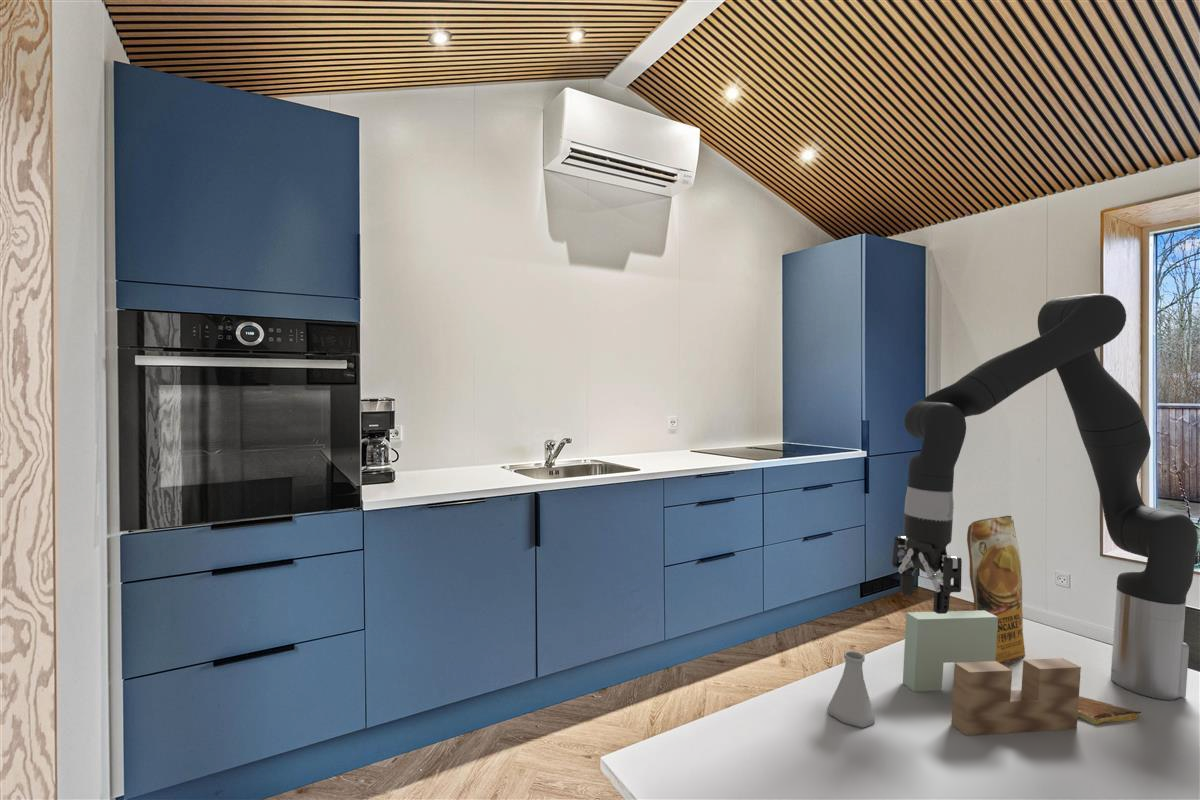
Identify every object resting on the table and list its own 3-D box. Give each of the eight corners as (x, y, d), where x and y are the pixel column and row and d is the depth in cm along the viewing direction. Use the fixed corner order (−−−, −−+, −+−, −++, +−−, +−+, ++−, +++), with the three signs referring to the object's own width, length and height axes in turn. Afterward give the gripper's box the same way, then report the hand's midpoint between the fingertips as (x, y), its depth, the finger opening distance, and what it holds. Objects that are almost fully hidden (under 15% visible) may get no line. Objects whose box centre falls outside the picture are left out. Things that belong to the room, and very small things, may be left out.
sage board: (980, 679, 107) (984, 610, 106) (993, 687, 104) (998, 617, 103) (902, 682, 104) (906, 612, 104) (914, 691, 101) (918, 619, 101)
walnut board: (1059, 717, 95) (1063, 658, 95) (1076, 728, 92) (1080, 667, 92) (951, 724, 92) (954, 662, 92) (965, 735, 89) (969, 672, 89)
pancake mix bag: (946, 655, 116) (954, 518, 115) (1003, 640, 124) (1011, 512, 123) (981, 671, 110) (989, 526, 109) (1038, 654, 118) (1046, 519, 117)
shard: (1141, 721, 96) (1141, 710, 96) (1151, 743, 89) (1152, 732, 89) (1058, 698, 102) (1058, 688, 102) (1062, 718, 96) (1063, 707, 95)
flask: (881, 715, 94) (885, 655, 93) (866, 734, 88) (870, 670, 88) (837, 697, 99) (840, 640, 98) (820, 714, 93) (823, 654, 93)
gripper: (979, 523, 96) (972, 619, 96) (919, 505, 110) (914, 588, 110) (938, 523, 95) (932, 620, 95) (883, 504, 109) (878, 589, 109)
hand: (922, 603), depth 103 cm, fingers open, 8 cm apart
